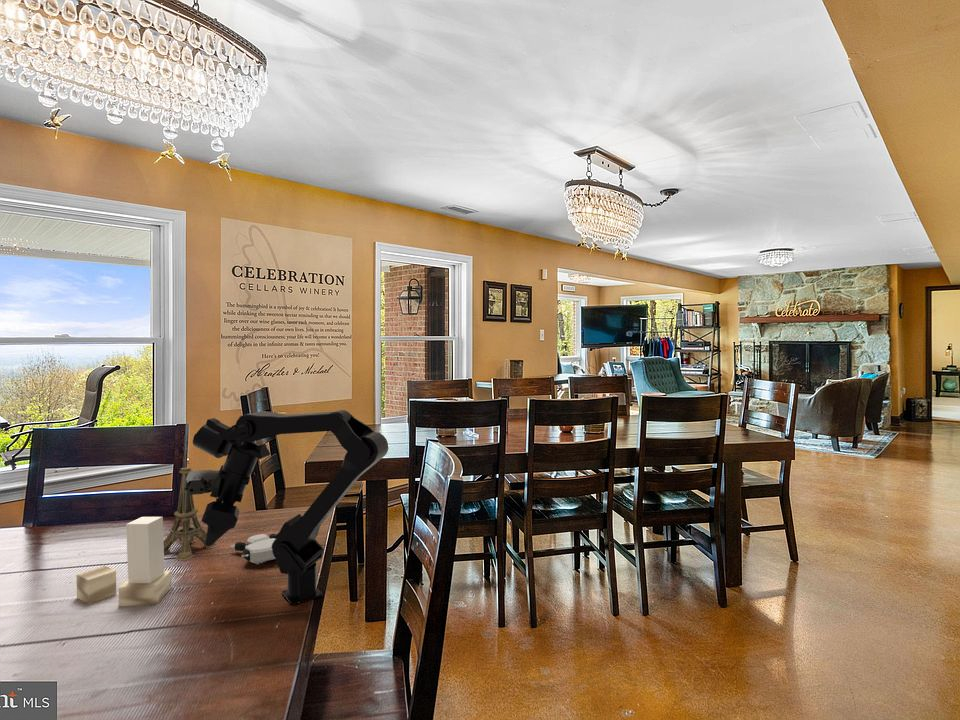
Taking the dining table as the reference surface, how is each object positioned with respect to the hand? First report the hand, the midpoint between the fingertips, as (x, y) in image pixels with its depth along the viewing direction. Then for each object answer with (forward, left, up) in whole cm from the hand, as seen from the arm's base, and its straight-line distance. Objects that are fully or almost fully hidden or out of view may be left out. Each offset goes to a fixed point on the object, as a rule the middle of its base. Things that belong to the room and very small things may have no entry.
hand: (211, 533), depth 111 cm
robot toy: (+11, -14, -12) cm, 21 cm away
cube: (+11, +19, -12) cm, 25 cm away
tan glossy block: (+4, +11, -12) cm, 17 cm away
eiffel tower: (+27, 0, -12) cm, 29 cm away
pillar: (+4, +11, -8) cm, 14 cm away
